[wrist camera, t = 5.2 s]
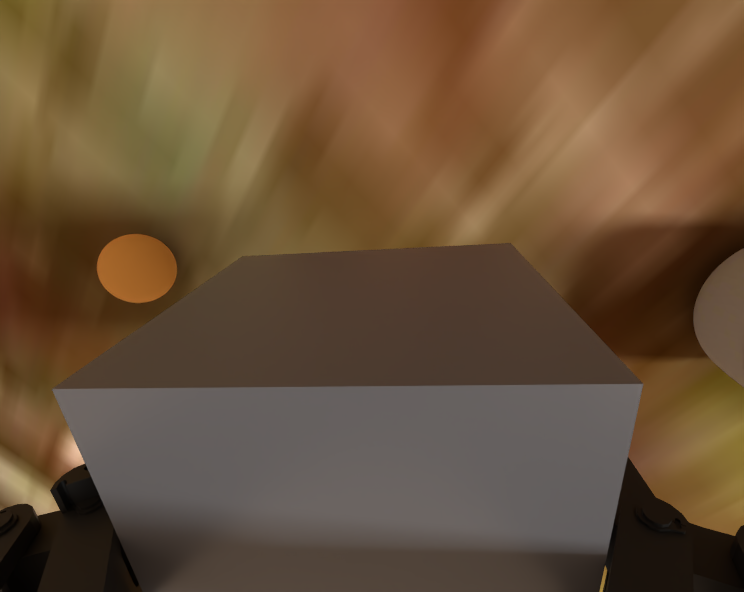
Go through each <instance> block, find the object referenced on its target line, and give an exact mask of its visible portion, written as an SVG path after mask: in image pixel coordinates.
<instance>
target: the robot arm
mask: <svg viewBox="0 0 744 592" xmlns="http://www.w3.org/2000/svg"><path fill="white" fill-rule="evenodd" d="M50 491H51V493H52V495H53V497H54V499H55V501H56V503H57V505H58V507H59V509H60V511H56V512H52V513H47V514H43V515H39V516H37V514H36V513H35V511H34V509H33V507H32V506H30V505H28V504H17V505H14V506H11V507H7V508H5V509H3V510H1V511H0V592H143V591H142V589H141V587H140V585H139V582H138V580H137V578H136V576H135V574H134V571H133V569H132V567H131V565H130V562H129V560H128V558H127V556H126V553H125V551H124V549H123V547H122V544H121V542H120V540H119V538H118V536H117V533H116V531H115V529H114V527H113V524H112V522H111V520H110V518H109V515H108V513H107V511H106V509H105V506H104V504H103V502H102V500H101V498H100V495H99V493H98V491H97V489H96V486H95V484H94V482H93V480H92V477H91V475H90V473H89V471H88V468H87V466H86V464H83V465H80V466H78V467H76V468H74V469H72V470H71V471H69V472H67V473H66V474H64V475H63V476H62V477H61V478H60V479H59V480H58V481H56V482H55V484H54V485H53V487H52V488H51V490H50ZM605 566H606V568H607V575H606V579H605V584H604V588H603V592H744V525H743V526H741V527H740V528H739V530H738V532H737V533H736V536H732V535H729V534H725V533H721V532H718V531H714V530H710V529H707V528H703V527H700V526H697V525H694V524H691V523H689V522H688V521H687V520H686V518H685V517H684V516H683V515H682V513H680V512H679V511H678V510H677V509H675V508H674V507H673V506H671V505H670V504H668V503H666V502H664V501H662V500H660V499H658V498H656V497H655V496H654V494H653V493H652V491H651V490H650V488H649V487H648V486H647V484H646V483H645V481H644V480H643V478H642V477H641V475H640V474H639V472H638V471H637V469H636V468H635V466H634V465H633V463H632V462H631V460H630V459H629V458H627V463H626V467H625V472H624V477H623V481H622V486H621V491H620V496H619V500H618V505H617V510H616V515H615V519H614V524H613V529H612V533H611V538H610V543H609V548H608V552H607V557H606V562H605Z"/></svg>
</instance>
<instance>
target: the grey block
mask: <svg viewBox="0 0 744 592" xmlns="http://www.w3.org/2000/svg"><path fill="white" fill-rule="evenodd" d="M642 387H643V383H642V382H641V381H640V380H639V379H638V378H637V377H636V376H635V375H634V374H633V373H632V372H631V371H630V369H629V368H628V367H627V366H626V365H625V364H624V363H623V362H622V361H621V360H620V359H619V358H618V357H617V356H616V355H615V354H614V352H613V351H612V350H611V349H610V348H609V347H608V346H607V345H606V344H605V343H604V342H603V341H602V340H601V339H600V338H599V337H598V335H597V334H596V333H595V332H594V331H593V330H592V329H591V328H590V327H589V326H588V325H587V324H586V323H585V322H584V321H583V320H582V319H581V317H580V316H579V315H578V314H577V313H576V312H575V311H574V310H573V309H572V308H571V307H570V306H569V305H568V304H567V303H566V302H565V300H564V299H563V298H562V297H561V296H560V295H559V294H558V293H557V292H556V291H555V290H554V289H553V288H552V287H551V286H550V285H549V283H548V282H547V281H546V280H545V279H544V278H543V277H542V276H541V275H540V274H539V273H538V272H537V271H536V270H535V269H534V268H533V267H532V265H531V264H530V263H529V262H528V261H527V260H526V259H525V258H524V257H523V256H522V255H521V254H520V253H519V252H518V251H517V250H516V248H515V247H514V246H513V245H512V244H511V243H505V244H485V245H464V246H444V247H424V248H404V249H383V250H363V251H343V252H322V253H302V254H282V255H261V256H242V257H241V258H239V259H238V260H237V261H235V262H234V263H232V264H231V265H229V266H228V267H227V268H225V269H224V270H222V271H221V272H219V273H218V274H216V275H215V276H214V277H212V278H211V279H209V280H208V281H206V282H205V283H204V284H202V285H201V286H199V287H198V288H196V289H195V290H193V291H192V292H191V293H189V294H188V295H186V296H185V297H183V298H182V299H181V300H179V301H178V302H176V303H175V304H173V305H172V306H171V307H169V308H168V309H166V310H165V311H163V312H162V313H160V314H159V315H158V316H156V317H155V318H153V319H152V320H150V321H149V322H148V323H146V324H145V325H143V326H142V327H140V328H139V329H137V330H136V331H135V332H133V333H132V334H130V335H129V336H127V337H126V338H125V339H123V340H122V341H120V342H119V343H117V344H116V345H115V346H113V347H112V348H110V349H109V350H107V351H106V352H104V353H103V354H102V355H100V356H99V357H97V358H96V359H94V360H93V361H92V362H90V363H89V364H87V365H86V366H84V367H83V368H81V369H80V370H79V371H77V372H76V373H74V374H73V375H71V376H70V377H69V378H67V379H66V380H64V381H63V382H61V383H60V384H58V385H57V386H56V387H54V388H53V389H52V390H53V393H54V395H55V397H56V399H57V401H58V404H59V406H60V408H61V410H62V413H63V415H64V417H65V419H66V422H67V424H68V426H69V428H70V430H71V433H72V435H73V437H74V439H75V442H76V444H77V446H78V448H79V451H80V453H81V455H82V457H83V460H84V462H85V464H86V466H87V468H88V471H89V473H90V475H91V477H92V480H93V482H94V484H95V486H96V489H97V491H98V493H99V495H100V498H101V500H102V502H103V504H104V506H105V509H106V511H107V513H108V515H109V518H110V520H111V522H112V524H113V527H114V529H115V531H116V533H117V536H118V538H119V540H120V542H121V544H122V547H123V549H124V551H125V553H126V556H127V558H128V560H129V562H130V565H131V567H132V569H133V571H134V574H135V576H136V578H137V580H138V582H139V585H140V587H141V589H142V591H143V592H599V590H600V585H601V581H602V576H603V571H604V567H605V562H606V557H607V552H608V548H609V543H610V538H611V533H612V529H613V524H614V519H615V515H616V510H617V505H618V500H619V496H620V491H621V486H622V481H623V477H624V472H625V467H626V463H627V458H628V453H629V448H630V444H631V439H632V434H633V429H634V425H635V420H636V415H637V411H638V406H639V401H640V396H641V392H642Z"/></svg>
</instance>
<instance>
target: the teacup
mask: <svg viewBox="0 0 744 592" xmlns="http://www.w3.org/2000/svg"><path fill="white" fill-rule="evenodd" d="M693 323H694V329H695V333H696V337H697V339H698V341H699V343H700V345H701V347H702V349H703V350H704V352H705V353H706V354H707V355H708V357H709V358H710V359H711V360H712V361H713V362H714V363H715V364H716V365H717V366H718V367H719V368H721V369H722V370H723V371H724V372H725V373H726V374H728V375H729V376H730V377H731V378H732V379H734V380H735V381H736V382H738V383H739V384H740V385H741V386H743V387H744V248H743V249H741V250H739V251H738V252H736V253H734V254H733V255H731V256H730V257H729V258H727V259H726V260H725V261H724V262H723V263H721V264H720V265H719V266H718V267H717V268H716V269H715V270H714V271H713V272H712V273H711V275H710V276H709V277H708V279H707V280H706V281H705V283H704V284H703V286H702V288H701V290H700V292H699V294H698V297H697V300H696V303H695V307H694V313H693Z"/></svg>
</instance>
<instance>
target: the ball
mask: <svg viewBox="0 0 744 592" xmlns="http://www.w3.org/2000/svg"><path fill="white" fill-rule="evenodd" d="M97 273H98V277H99V279H100V281H101V283H102V285H103V286H104V288H105V289H106V290H107V291H108V292H109V293H111V294H112V295H113V296H115V297H117V298H119V299H121V300H124V301H127V302H133V303H144V302H149V301H153V300H156V299H158V298H160V297H161V296H163V295H164V294H165V293H167V292H168V291H169V289H170V288H171V287H172V285H173V284H174V282H175V279H176V275H177V264H176V260H175V258H174V255H173V254H172V252H171V251H170V249H169V248H168V247H167V246H166V245H165V244H164V243H162V242H161V241H159V240H158V239H155V238H153V237H151V236H147V235H142V234H129V235H124V236H121V237H118V238H116V239H114V240H112V241H111V242H110V243H108V244H107V245H106V246H105V247H104V249H103V250H102V251H101V253H100V255H99V258H98V262H97Z"/></svg>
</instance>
